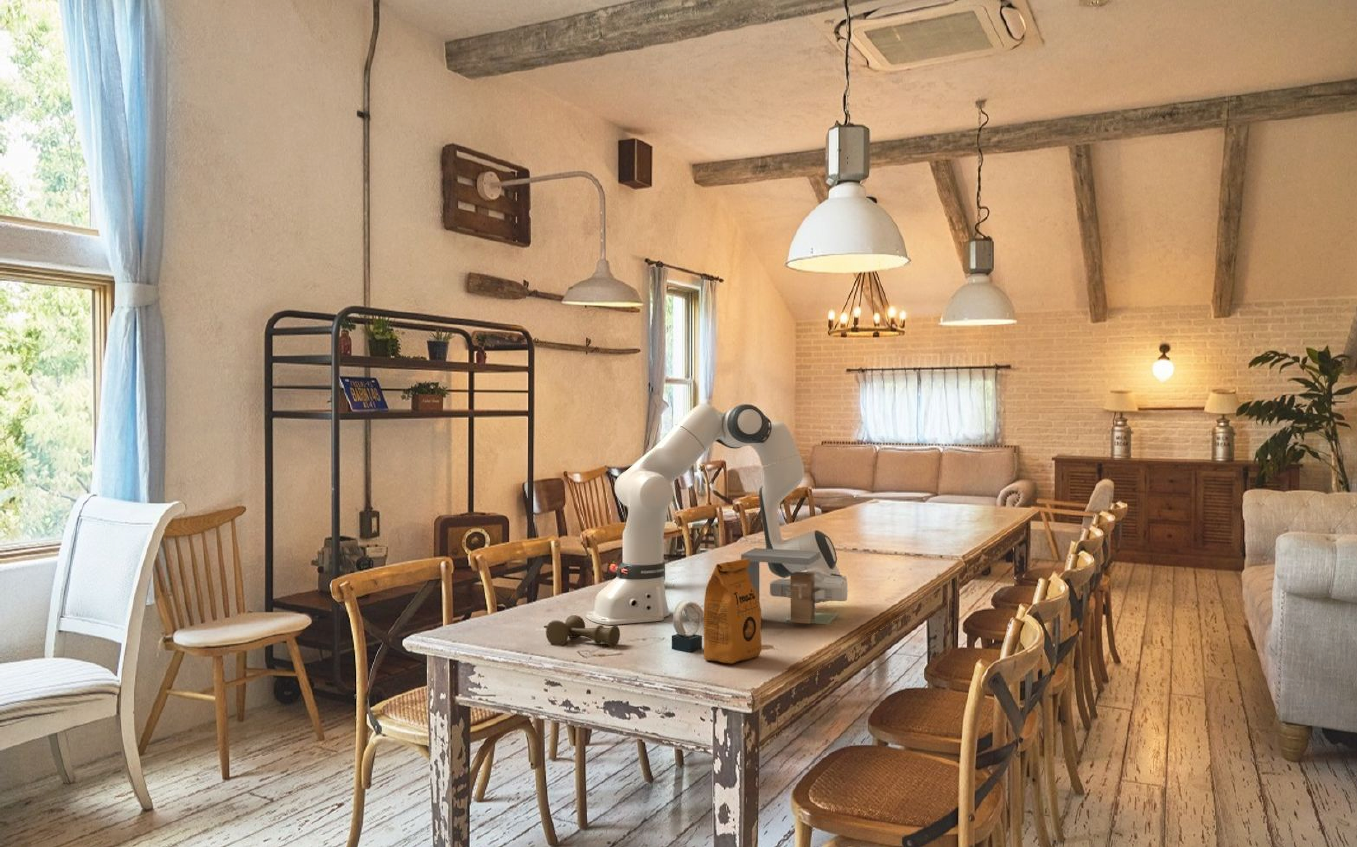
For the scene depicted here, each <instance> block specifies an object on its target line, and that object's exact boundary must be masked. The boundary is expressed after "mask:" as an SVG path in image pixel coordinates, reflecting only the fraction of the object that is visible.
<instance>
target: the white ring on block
mask: <svg viewBox="0 0 1357 847" xmlns="http://www.w3.org/2000/svg"><path fill="white" fill-rule="evenodd" d="M683 612H684V614H685V615H686V616H687V618H688V619H689V621H690V622H691V623H690V626H689V628H688V630H687V631H686V630H685V627H684V624H683V621H682V613H683ZM672 615H673V616H672V624H673V628H674V630H675V632H676V634H673V635H671V650H674V651H675V650H676V651H680V652H684V653H690V654H691V653H695V652H697V651H700V650H703V635H699V634H697V632H698V631H699V629H700V625H701V623H702V621H703V617H704V609H702V607H701V606H700V605H699V604H698V603H697V602H695V601H691V600H688V601H687V600H683V601H679V602H678V604H676V607H675V608H674V610H673V614H672Z"/></svg>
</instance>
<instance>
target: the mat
mask: <svg viewBox="0 0 1357 847" xmlns="http://www.w3.org/2000/svg"><path fill="white" fill-rule="evenodd" d="M837 616H838V614H837V613H825V612H815V620H814V621H812V622H811V623H810V624H817V625H829V624H830V623H831V622H833V620H834V619H835V618H836V617H837ZM785 621H786V622H791V615H790V616H789V617H787V618H786V620H785Z"/></svg>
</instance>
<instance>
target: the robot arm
mask: <svg viewBox="0 0 1357 847" xmlns="http://www.w3.org/2000/svg"><path fill="white" fill-rule="evenodd" d="M793 437H794V436H793V435H792V433H791V432H790V429H789V428H788V427H787V425H786V424H784V423H783V422H781V421H772V420H770V419H769V417H768V416H767V415H765V414H764V412H763V411H762V410H760V409H759V408H758V407H757V406H755V405H752V404H747V403H745V404H739V405H737V406H735V407H733V408H731V409H729V410H726V411H725V412H722V411H719V410H718V409H717V408H715V407H714V406H712V405H710V404H707V403H700V404H698V405H696V406H694V407H693V408H692V409H690V410H689V411H688V412H687V413H685V415H683V416H682V417H681V418H680V419H679V420H678V421H677V422H676V423H675V425H673V427H671V429H670V430H669V431H668V432H667V433H666V434H665V435H664V436H663V438H661V440H660V441H659V442H658V443H657V444H656V445H655V446H654V447H653V448H651V449H650V450H649V451H648V452H646V453H645V454H644V455H643V456H642V457H641V458H639V459H638V460H637V461H636V462H634V463H633V464H632V465H631V466H630V467H629V468H628V469H627V470H624V471H623V472H621V474H619V475H618V477H617V478H616V480H615V482H614V493H615V496H616V497H617V499H618V500H619V502H620V503H621V504H622V505H623V506H625V507H627V508H628V511H627V512H628V513H627V519H626V524H625V527H624V530H623V531H622V562H620V564H619V565H618V564H614V563H611V564H610V565H609V571H611V572H613V573H616V577H615V578H614V579H612V580H611V581H610V582H609V583H608V584H607V585H606V586H605V587H604V588H602V589H601V590H600V591H599V592H598V593H597V594H596V597H595V601H594V608H593V610H591V611H587V612H586V619H587V620H589V621H591V622H594V623H597V624H599V625H601V624H602V625H605V626H607V625H609V626H616V625H622V624H623V625H624V624H625V625H626V624H635V623H636V624H637V623H648V622H660V621H664V619H665V618H666V617H668V616H669V615H671V613H670V609H669V607H668V602H667V595H666V590H665V589H666V588H665V580H666V562H665V560H664V540H665V539H664V535H665V527H666V521H667V516H668V512H669V508H670V505H671V503H672V501H673V498H674V488H673V486H672V483H673V482H674V481H676V480H677V479H679V478H680V477H681V476H683V475H685V474H687V472H689V470H690V469H691V468H692V467H694V464H695V463H696V462H697V461H698V460H699V459H700V458H701V457H702V456H703V455H704V454H705V452H706V451H707V450H708V448H709V447H710V446H711V445H712V444H714V442H716V443H719V444H720V445H722V446H724V447H726V448H729V449H736V450H737V449H741V448H743V447H748V446H750V448H752V449H754V451H755V452H756V454H757V455H758V456H759V460H760V464H761V467H762V471H763V483H762V486H761V487H760V488H759V490H758V498H759V499H758V501H759V502H758V503H759V508H760V516H761V522H762V530H763V536H764V541H765V549H781V550H799V551H817V552H820V558H819V559H818V560H816V561H815V562H813V563H812V564H810V565H800V564H784V563H767V566H768V568H769V571H770V572H771V573H772V574H774V575H775V576H777V577H780V578H779V579H775V580H773V581H770V583H769V594H770V596H772V597H779V598H780V597H781V598H789V599H791V578H788V577H790V575H791V574H793V573H794V572H804V571H805V572H811V573H815V591H813V592H812V599H814V600H815V604H819V603H821V602H822V603H825V602H847V600H848V592H849V590H848V582H847V581H848V580H847V576H846V575H842V574H841V572H840V569H839V567H838V566H837V562H838V557H837V552H836V548H835V545H834V544H833V541H832V540H831V538H830V537H829V536H828V535H826V534H825V533H823V532H822V531H819V530H817V529H815V530H812V531H809V532H806V533H803V534H800V535H798V536H797V535H796V536H794V537H791V538H788V539H783V538H782V534H781V527H780V521H779V516H778V510H779V507H780V504H781V503H782V502H783V500H784V499H785V498H787V497H788V496H789V495H790V494H791V493H793V492H794V491H795V490H797V488H798V487H799V485H800V484H801V483H802V481H803V479H804V475H805V467H804V463H803V460H802V457H801V453H800V451H799V448H798V446H797V443H796V440H795V439H794V438H793Z"/></svg>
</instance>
